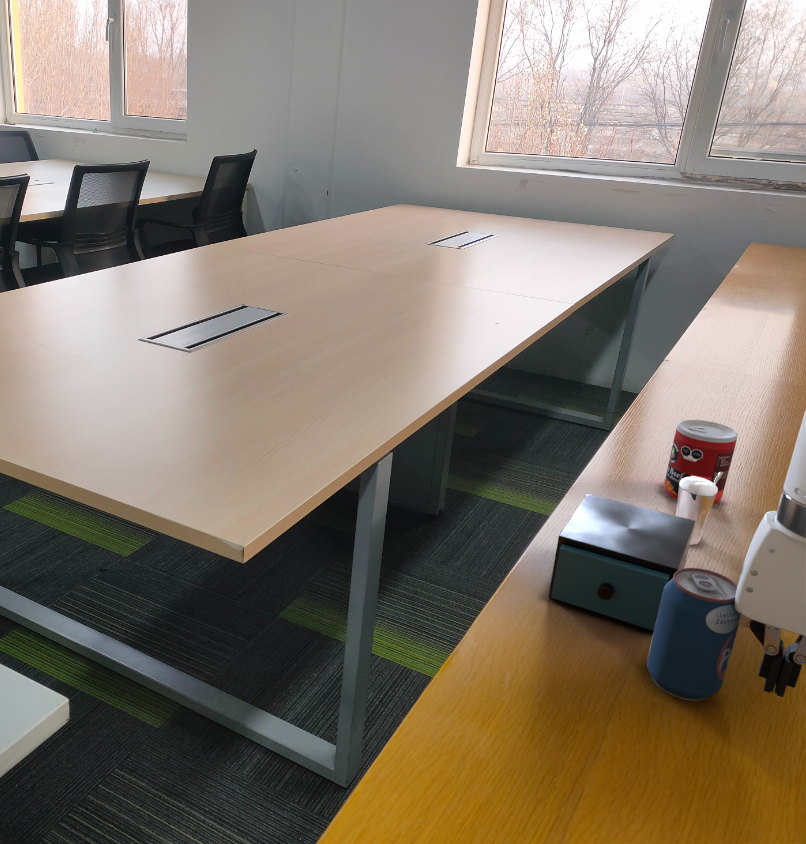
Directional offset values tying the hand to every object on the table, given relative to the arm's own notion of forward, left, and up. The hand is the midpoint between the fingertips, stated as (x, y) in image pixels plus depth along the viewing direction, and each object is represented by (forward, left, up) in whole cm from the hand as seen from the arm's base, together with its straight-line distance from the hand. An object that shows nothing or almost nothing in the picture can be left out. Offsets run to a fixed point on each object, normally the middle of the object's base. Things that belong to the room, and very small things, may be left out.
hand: (774, 686), depth 77 cm
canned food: (-6, -51, -4) cm, 51 cm away
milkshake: (-2, -36, -4) cm, 36 cm away
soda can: (+7, -3, -4) cm, 8 cm away
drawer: (+11, -18, -2) cm, 21 cm away
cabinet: (+10, -20, -3) cm, 23 cm away
